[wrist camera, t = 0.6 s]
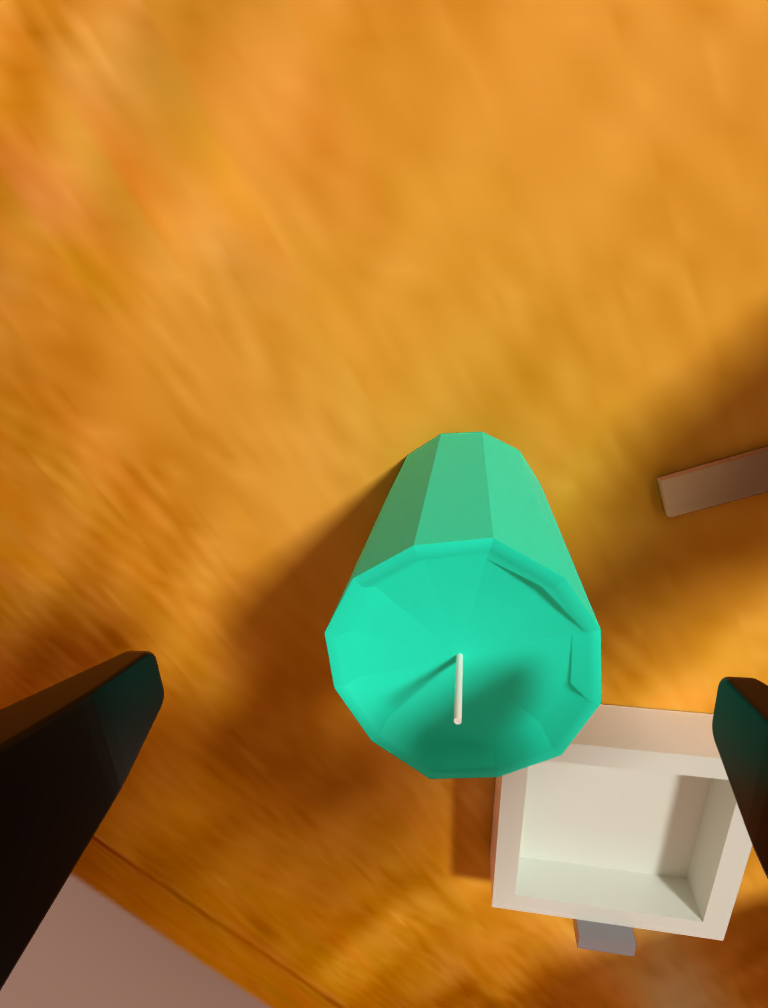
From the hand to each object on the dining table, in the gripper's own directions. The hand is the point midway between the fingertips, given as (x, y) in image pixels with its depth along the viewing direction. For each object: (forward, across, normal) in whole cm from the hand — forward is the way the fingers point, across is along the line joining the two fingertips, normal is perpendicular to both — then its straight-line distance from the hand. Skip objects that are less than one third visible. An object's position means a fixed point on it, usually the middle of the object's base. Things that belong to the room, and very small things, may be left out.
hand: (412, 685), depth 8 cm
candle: (+13, -1, +2) cm, 13 cm away
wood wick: (+13, -12, 0) cm, 18 cm away
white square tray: (+13, -7, +16) cm, 22 cm away
